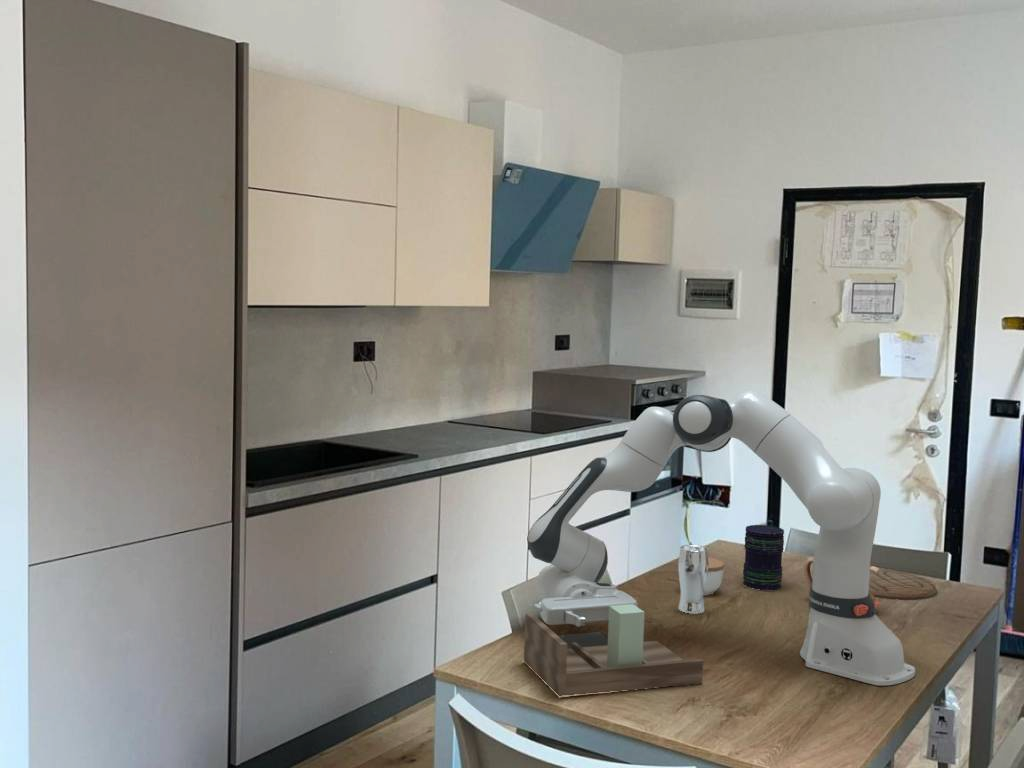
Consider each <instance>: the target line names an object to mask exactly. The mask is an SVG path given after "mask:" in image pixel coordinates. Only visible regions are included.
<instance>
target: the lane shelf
mask: <svg viewBox="0 0 1024 768" xmlns="http://www.w3.org/2000/svg"><path fill="white" fill-rule="evenodd" d="M524 622H525V623H524V624H525V625H524V651H523V654H524V655H523V662H524V661H525V662H526V663H527V664H528V665H529V666H530V667H531V668H532V669H533V670H534V671H535V672H536V673H537V674H538V675H539V676H540V677H541V678H542V679H543V680H544V681H545V682H546V683H547V684H548V685H549V686H550V687H551V688H552V689H553V690H554V691H555V692H556V693H557V694H558V695H559V696H562V695H574V694H586V693H598V692H610V691H622V690H635V689H645V688H655V687H666V688H668V687H667V686H675V687H679V686H678V685H685V686H691V685H690V684H694V685H700V684H701V683H702V684H703V670H704V660H703V659H702V658H691V659H689V658H688V659H683V658H681V657H680V656H679V655H678V654H676V653H674V652H673V651H672V650H670V649H669V648H668V647H666V646H665V645H663V644H661V643H660V642H659V641H658V640H650V641H649V640H648V641H643V661H642V664H637V665H626V666H616V667H607V649H608V645H603V646H592V647H581V646H580V645H579V644H577V643H576V642H572V648H569V649H567V644H566V643H565V642H564V641H563V640H562V639H561V638H560V637H558V636H557V635H558V634H556V633H555V632H554V631H553V630H552V629H550V627H548V626H547V624H546V623H545V622H544V621H543V622H542V620H541V619H539V618H538V616H536V615H535V614H534V613H532V612H525V621H524ZM702 684H701V685H702Z"/></svg>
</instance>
